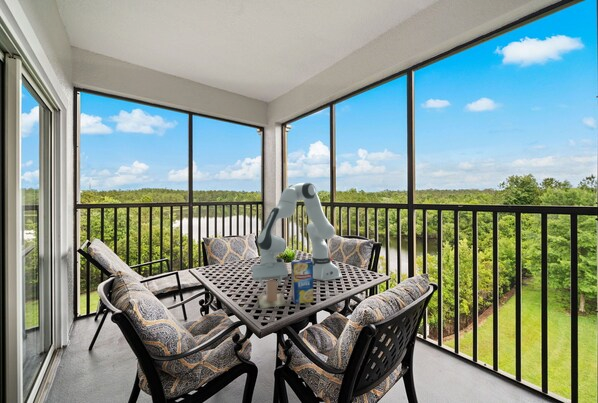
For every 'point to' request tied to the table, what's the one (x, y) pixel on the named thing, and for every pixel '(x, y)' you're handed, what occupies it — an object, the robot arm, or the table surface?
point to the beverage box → (302, 281)
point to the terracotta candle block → (271, 290)
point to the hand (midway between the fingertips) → (271, 285)
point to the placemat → (265, 304)
